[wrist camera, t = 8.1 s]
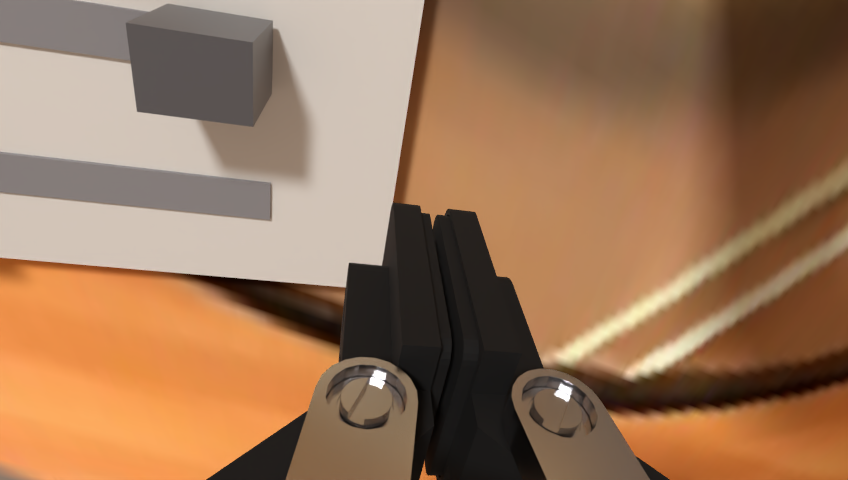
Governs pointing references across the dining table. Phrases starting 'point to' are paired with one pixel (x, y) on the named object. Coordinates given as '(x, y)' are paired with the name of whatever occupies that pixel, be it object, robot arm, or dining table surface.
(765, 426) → the dining table surface
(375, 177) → the switch panel
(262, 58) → the handle
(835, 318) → the dining table surface
